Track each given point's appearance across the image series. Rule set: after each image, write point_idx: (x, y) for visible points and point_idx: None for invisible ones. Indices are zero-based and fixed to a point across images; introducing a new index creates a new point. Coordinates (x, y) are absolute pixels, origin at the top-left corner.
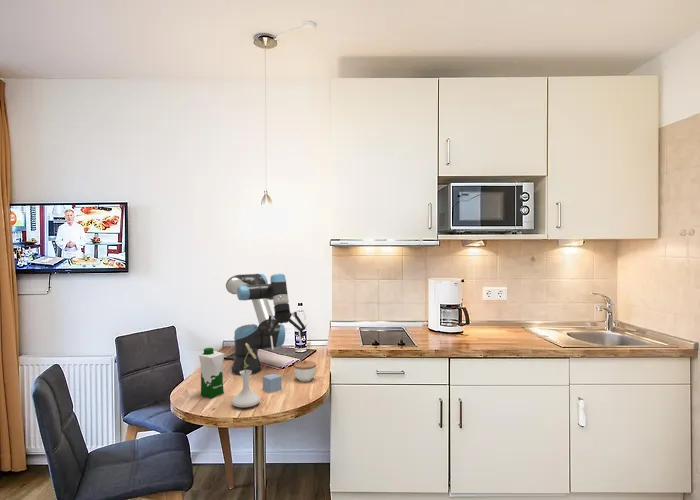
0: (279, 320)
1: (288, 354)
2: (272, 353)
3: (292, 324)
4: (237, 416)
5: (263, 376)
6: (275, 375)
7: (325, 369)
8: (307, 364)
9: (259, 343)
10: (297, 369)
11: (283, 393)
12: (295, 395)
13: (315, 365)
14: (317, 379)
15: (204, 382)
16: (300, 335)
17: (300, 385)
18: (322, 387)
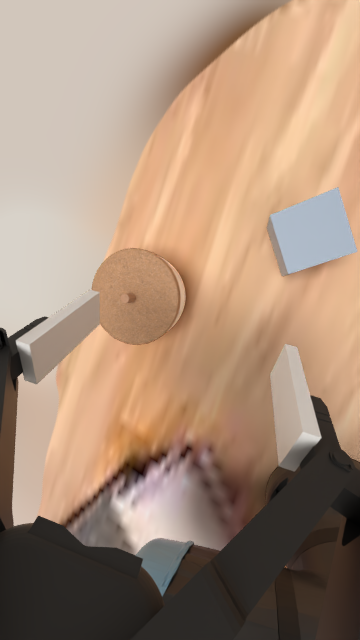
0: (140, 632)
1: None
2: None
3: (9, 463)
4: None
5: (353, 250)
6: (291, 240)
7: (73, 358)
8: (126, 279)
9: (301, 590)
10: (175, 275)
11: (273, 183)
12: (238, 145)
13: (100, 268)
14: None
15: None
16: (46, 319)
17: (189, 243)
18: (131, 193)
